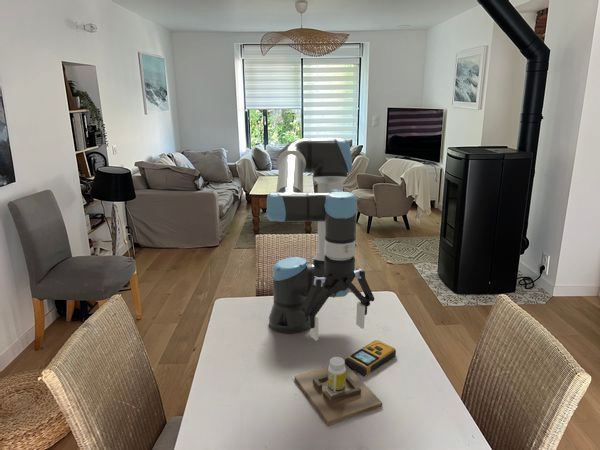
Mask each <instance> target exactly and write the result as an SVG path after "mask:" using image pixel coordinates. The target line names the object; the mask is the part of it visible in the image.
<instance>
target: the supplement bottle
mask: <svg viewBox="0 0 600 450" xmlns="http://www.w3.org/2000/svg"><path fill="white" fill-rule="evenodd" d="M328 366H329V367H328V389H329V390H330V391H331V392H333V393H341V392H343V391H344V390H345V382H346V368H345V359H344V358H342V357H339V356H334V357H332V358H330V359H329V364H328Z"/></svg>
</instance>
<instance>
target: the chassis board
mask: <svg viewBox="0 0 600 450" xmlns="http://www.w3.org/2000/svg"><path fill="white" fill-rule="evenodd" d="M328 367H329V365H327V366H324V367H321V368H316V369H315V370H314V369H313V370H310V371H306V372H304V373H300V374H296V375H294V378H293V380H294V381H295V382H296V384H297V385H298V386H299V388H300V390H302V392H303V393H304V395H305V396H306V398H307V399H308V401H309V402H310V403H311V405H312V406H313V407H314V408H315V411H317V412H318V414H319V415H320V417H321V418H322V419H323V421H324V422H325V423H326V425H327V426H331V425H333V424H334V425H335V424H336V423H337V424H338V423H339V422H342V421H346V420H348V419H352V418H355V417H356V416H360V415H362V414H365V413H368V412H369V413H370V412H372V411H374V410H377V409H380V408H383V402H382V401H381V400H380V398H379V397H378V396H376V394H375V393H374V392H372V390H371V389H370V388H369V387H368V386H367V385H366V384H365V383H364V382H363V381H362V379H361V378H359V376H358V375H356V373H355V371H353V370H351V369H350V368H349V367H348V366H347V365H346V364H345V368H346V382H345V390H344V391H343V392H341V393H333V392H331V391H330V390H329V389H328Z"/></svg>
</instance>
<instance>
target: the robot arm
mask: <svg viewBox="0 0 600 450" xmlns="http://www.w3.org/2000/svg"><path fill="white" fill-rule="evenodd" d="M276 168H277V171H278V173H277V174H278V176H277V184H276V190H275V191H276V192H270V193H268V194H267V197H266V214H267V216H266V217H267V219H268V220H269V221H270V222H281V223H284V222H317V254H316V255H314V257H312V259H313V260H312V261H313V262H308V261H307V258H304V257H300V256H290V257H287V258H282V259H281V260H279V261H277V262H276V263H275V264H274V265H273V268H272V269H273V271H272V280H273V287H272V288H273V304H272V307H271V310H270V312H269V317H268V324H269V326H270V328H271V329H272V330H274V331H276V332H279V333H282V334H297V333H302V332H304V331H307V330H308V329H309V328H310V336H311V338H312V339H314V341H319V316H318V315H317V314H318V313H319V312H320V310H321V309H322V308H323V306H324V305H325V303H326V302H327V301H328V299H329V298H333V299H334V298H341V297H343V298H344V297H346V296H347V295H348V293H349V292H351V293H352V294H353V296H355V297H356V298H357V299H358V300H359V301H357V302H356V316H355V317H356V318H355V319H356V321H355V325H356V326H358V327H359V328H360V329H361V330H363V329H365V320H366V319H365V316H367V314H368V307H370V306H371V302H375V297H374V295H373V291H372V290H371V288H370V285H369V283H368V281H367V280H366V272H365V271H364V269H361V268H360V267H357V268H356V265H355V264H356V257H355V255H356V238H357V235H356V233H357V232H356V230H357V217H358V216H357V213H358V210H359V208H358V197H357V195H355V194H354V193H352V192H349V191H344V183H345V182H346V180H347V179H348V174H351V173H352V171H353V159H352V151H351V147H350V144H349V142H348V140H347V139H345V138H339V137H315V138H313V137H309V138H308V137H305V138H302V137H301V138H298V139H296V140H293V141H291V142H289V143H287V144H286V145H285V146H284V147H282V149H281V150H280V152H279V153H278V155H277V157H276ZM304 173H305V174H313V175H312V178H313V180H314V181H315V182H316V184H317V192H304ZM355 278H356V279H357V281H358V284H359V285H360V288H361V290H362V292H363V294H362V293H361V292H360V290H359V289H358V288H357V287H356V286H355V284H353V281H354V279H355Z"/></svg>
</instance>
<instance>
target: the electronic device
mask: <svg viewBox="0 0 600 450" xmlns="http://www.w3.org/2000/svg"><path fill="white" fill-rule="evenodd" d="M396 355H397V350H396V348H395V347H393V346H390V345H388V344H387V343H384V342H382V341H380V340H379V339H378V340H377V339H376V340H374V341H372V342H370V343H369V344H367V345H365V346H363V347H362V348H360V349H358V350H357V351H355V352H353V353H352V354H350V355H349V356H348V357H346V358H345V359H344V361H345V364H346V365H347V366H348V367H349V368H350V369H351V370H352V371H353V372H354V373H356V374H358V375H360V376H362V377H363V378H364V377H366V376H368V375H369V374H371V373H373V372H374V371H376V370H377V369H379V368H381V367H382V366H383V365H385V364H387V363H388V362H389V361H391V360H392V359H394V358H395V357H396Z"/></svg>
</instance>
